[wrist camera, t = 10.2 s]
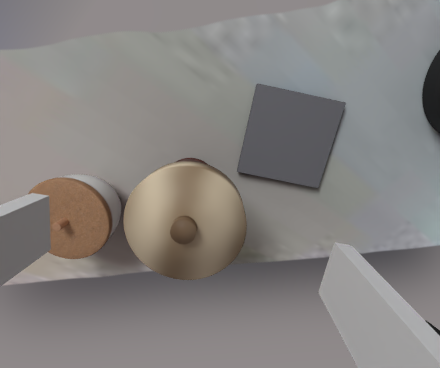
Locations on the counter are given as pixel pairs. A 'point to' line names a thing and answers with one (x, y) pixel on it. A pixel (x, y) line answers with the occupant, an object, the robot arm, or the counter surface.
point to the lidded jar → (80, 214)
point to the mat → (289, 135)
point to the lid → (185, 221)
